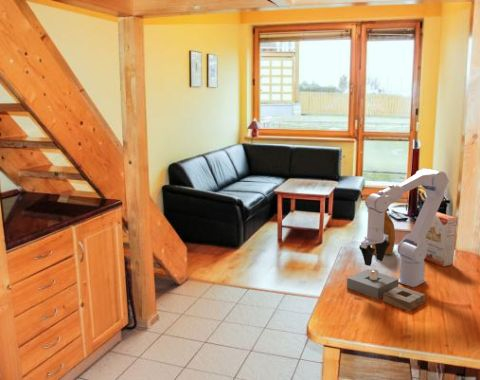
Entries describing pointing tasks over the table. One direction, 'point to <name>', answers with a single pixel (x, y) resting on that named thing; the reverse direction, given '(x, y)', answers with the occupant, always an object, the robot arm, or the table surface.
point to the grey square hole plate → (371, 284)
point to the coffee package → (388, 233)
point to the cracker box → (441, 240)
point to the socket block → (404, 298)
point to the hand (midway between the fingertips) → (373, 262)
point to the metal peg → (373, 275)
